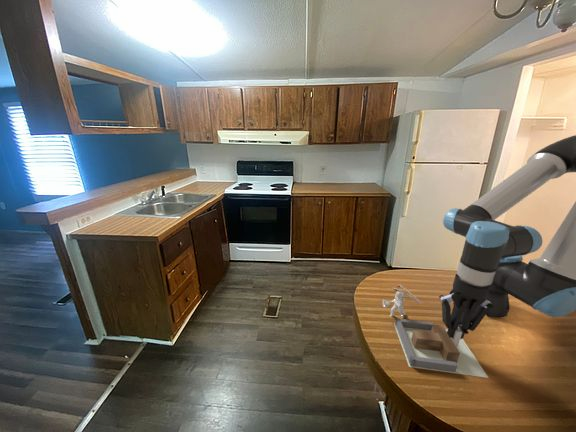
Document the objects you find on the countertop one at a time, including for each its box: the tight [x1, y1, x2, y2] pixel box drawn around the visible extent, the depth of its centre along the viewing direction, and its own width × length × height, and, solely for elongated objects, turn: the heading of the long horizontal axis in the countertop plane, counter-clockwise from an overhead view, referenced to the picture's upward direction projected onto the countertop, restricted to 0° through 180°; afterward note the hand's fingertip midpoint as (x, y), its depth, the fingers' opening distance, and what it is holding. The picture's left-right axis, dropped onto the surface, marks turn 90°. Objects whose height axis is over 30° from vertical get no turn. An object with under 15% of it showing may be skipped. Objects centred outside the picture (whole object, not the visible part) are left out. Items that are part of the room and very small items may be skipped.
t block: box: [411, 323, 460, 364], centre depth 70 cm, size 10×10×4 cm
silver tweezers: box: [392, 284, 423, 304], centre depth 92 cm, size 17×5×2 cm, turn 27°
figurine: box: [381, 290, 407, 317], centre depth 80 cm, size 5×9×12 cm, turn 109°
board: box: [393, 318, 489, 379], centre depth 70 cm, size 20×16×3 cm
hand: (451, 344), depth 69 cm, fingers closed
